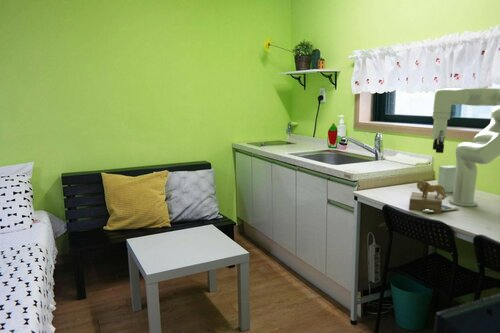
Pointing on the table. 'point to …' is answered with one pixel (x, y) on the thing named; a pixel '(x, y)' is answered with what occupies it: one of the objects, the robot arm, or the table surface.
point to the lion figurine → (430, 188)
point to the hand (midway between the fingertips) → (437, 151)
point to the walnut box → (425, 202)
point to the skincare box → (447, 177)
